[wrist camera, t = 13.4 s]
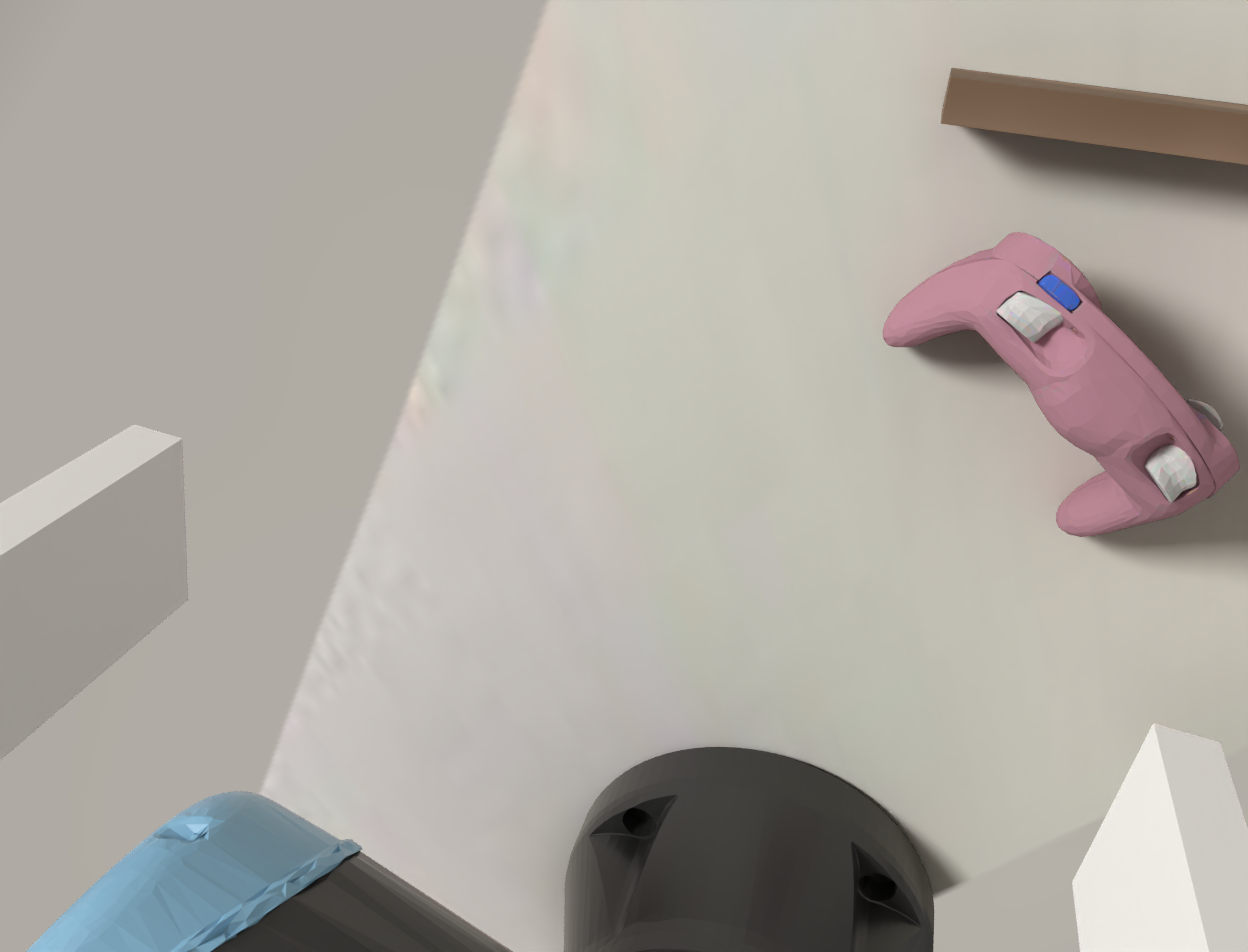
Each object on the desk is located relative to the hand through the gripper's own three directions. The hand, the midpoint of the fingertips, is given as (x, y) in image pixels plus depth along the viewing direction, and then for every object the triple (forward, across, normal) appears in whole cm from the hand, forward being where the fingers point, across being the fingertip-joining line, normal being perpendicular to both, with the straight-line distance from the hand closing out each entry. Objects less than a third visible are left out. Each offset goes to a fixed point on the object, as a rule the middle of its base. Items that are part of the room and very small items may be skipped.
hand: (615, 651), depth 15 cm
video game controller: (+23, -8, +2) cm, 25 cm away
